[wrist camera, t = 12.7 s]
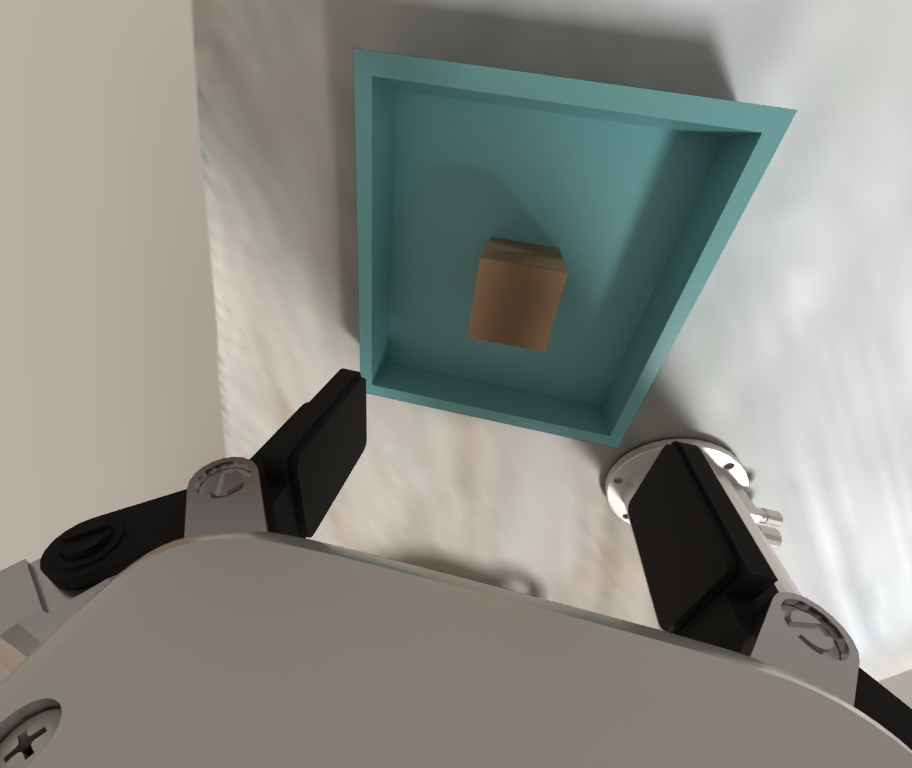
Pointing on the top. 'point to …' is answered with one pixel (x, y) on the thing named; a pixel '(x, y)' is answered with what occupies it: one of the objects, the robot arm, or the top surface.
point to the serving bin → (539, 230)
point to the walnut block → (517, 293)
